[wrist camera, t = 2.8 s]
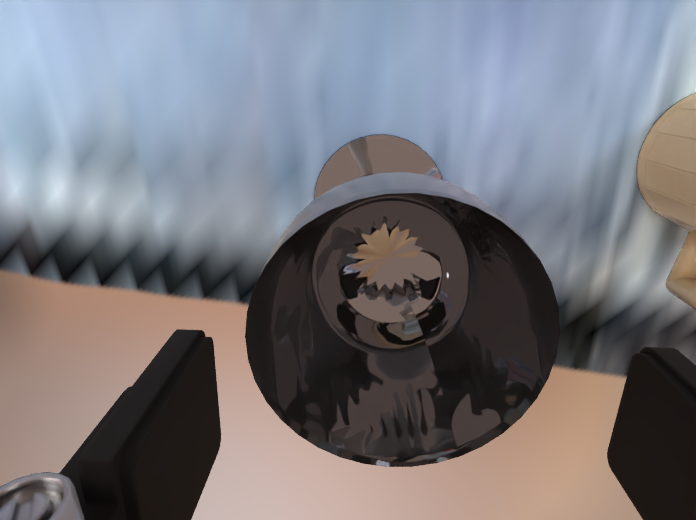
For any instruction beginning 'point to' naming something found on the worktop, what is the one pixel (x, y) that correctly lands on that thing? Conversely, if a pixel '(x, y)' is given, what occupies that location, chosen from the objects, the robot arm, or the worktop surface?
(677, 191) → the wooden mug
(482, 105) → the worktop surface
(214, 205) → the worktop surface
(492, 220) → the wine glass
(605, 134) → the worktop surface
